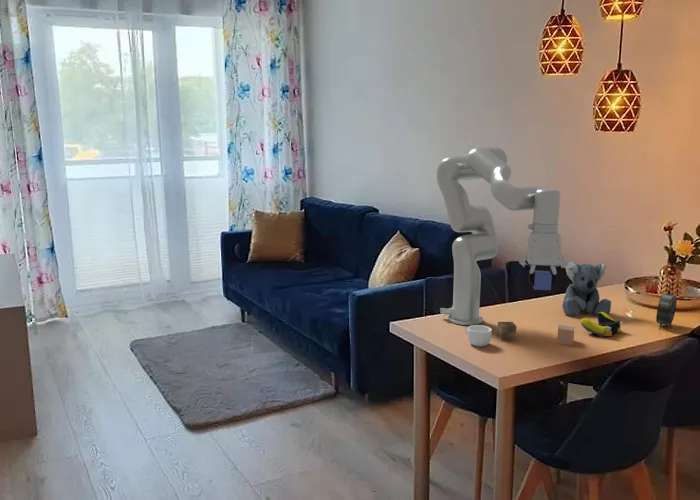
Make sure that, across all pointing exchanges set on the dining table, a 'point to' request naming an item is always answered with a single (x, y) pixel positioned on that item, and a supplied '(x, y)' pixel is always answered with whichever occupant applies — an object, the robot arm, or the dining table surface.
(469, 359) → the dining table surface
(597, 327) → the yellow black angled piece
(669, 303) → the alarm clock
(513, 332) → the walnut block
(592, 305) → the koala plush
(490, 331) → the teacup
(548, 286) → the blue cube
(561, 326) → the beige cube
